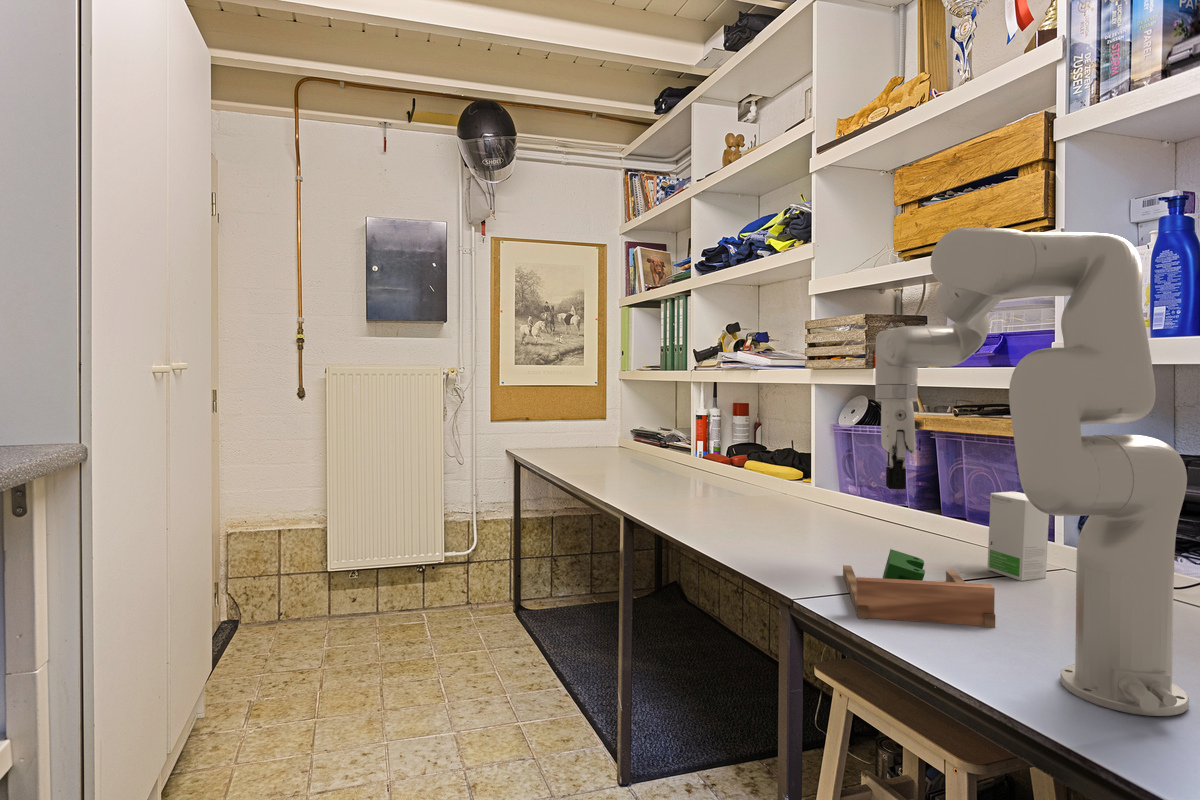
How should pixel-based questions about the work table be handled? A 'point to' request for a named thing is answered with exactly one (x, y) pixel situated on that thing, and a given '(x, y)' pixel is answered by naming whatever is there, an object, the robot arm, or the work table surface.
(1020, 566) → the skincare box
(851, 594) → the brown wooden tray
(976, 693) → the work table surface
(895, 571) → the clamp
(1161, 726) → the work table surface
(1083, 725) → the work table surface
